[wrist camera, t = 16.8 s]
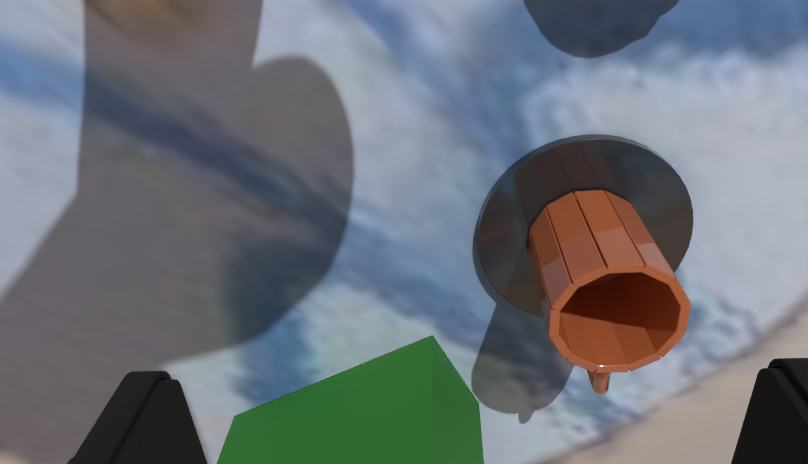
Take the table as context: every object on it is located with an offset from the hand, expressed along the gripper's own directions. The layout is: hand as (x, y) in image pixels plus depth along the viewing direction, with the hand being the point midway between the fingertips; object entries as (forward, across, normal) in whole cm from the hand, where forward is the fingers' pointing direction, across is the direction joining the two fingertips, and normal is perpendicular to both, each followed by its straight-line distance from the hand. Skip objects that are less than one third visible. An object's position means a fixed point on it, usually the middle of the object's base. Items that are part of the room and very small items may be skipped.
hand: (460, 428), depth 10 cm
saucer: (+26, -8, +12) cm, 30 cm away
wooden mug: (+25, -8, +13) cm, 30 cm away
